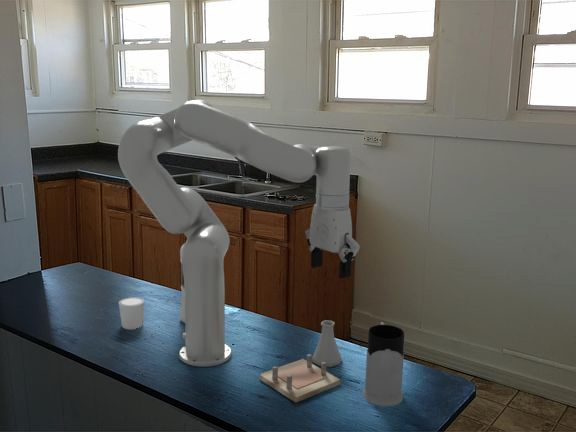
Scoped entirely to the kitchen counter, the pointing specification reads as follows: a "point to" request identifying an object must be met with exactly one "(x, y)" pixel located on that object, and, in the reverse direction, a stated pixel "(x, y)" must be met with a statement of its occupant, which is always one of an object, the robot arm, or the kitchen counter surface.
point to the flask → (327, 346)
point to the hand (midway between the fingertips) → (330, 271)
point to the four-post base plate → (300, 379)
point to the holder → (384, 365)
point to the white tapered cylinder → (132, 312)
